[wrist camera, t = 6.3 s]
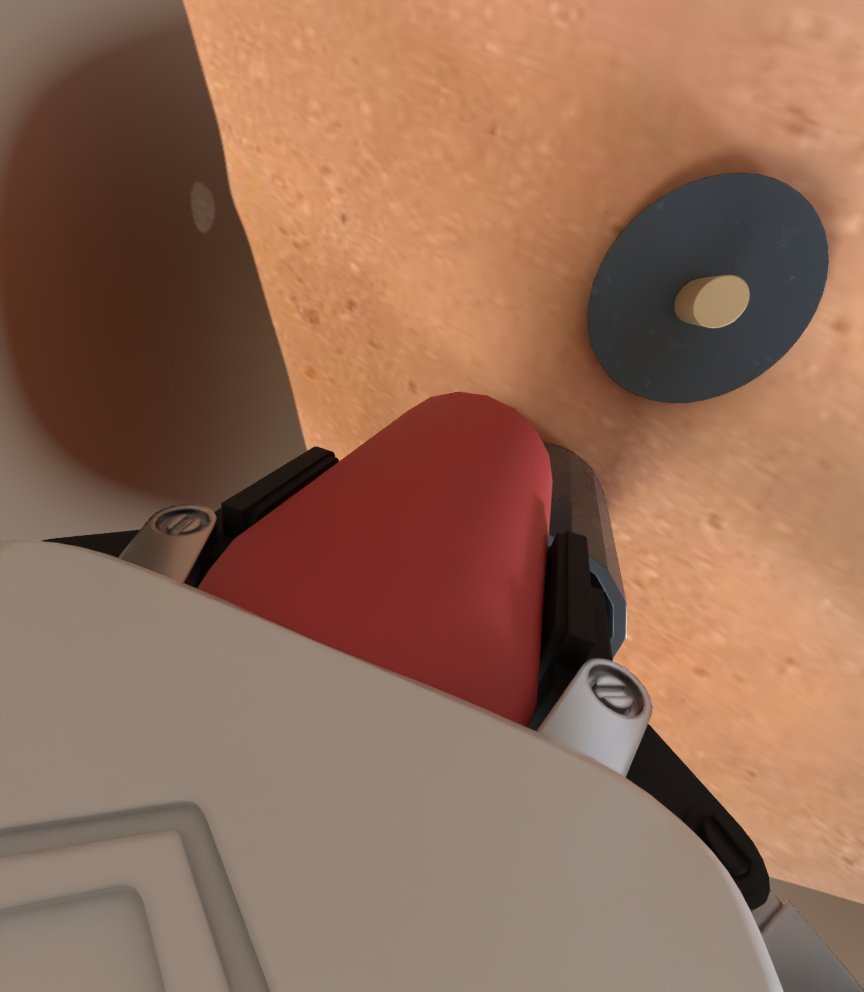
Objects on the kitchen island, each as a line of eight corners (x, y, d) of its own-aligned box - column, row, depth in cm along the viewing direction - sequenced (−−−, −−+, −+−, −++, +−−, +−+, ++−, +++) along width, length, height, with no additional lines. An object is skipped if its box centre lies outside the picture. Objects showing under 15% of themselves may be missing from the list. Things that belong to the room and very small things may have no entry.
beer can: (365, 484, 18) (84, 750, 7) (440, 351, 14) (109, 502, 4) (488, 568, 18) (379, 950, 7) (592, 457, 14) (659, 879, 4)
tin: (485, 424, 34) (440, 498, 22) (628, 465, 32) (668, 573, 20) (454, 536, 40) (404, 645, 28) (573, 577, 38) (578, 713, 26)
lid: (635, 160, 24) (653, 125, 19) (874, 200, 22) (961, 173, 17) (560, 373, 31) (559, 388, 26) (740, 420, 29) (775, 446, 24)
